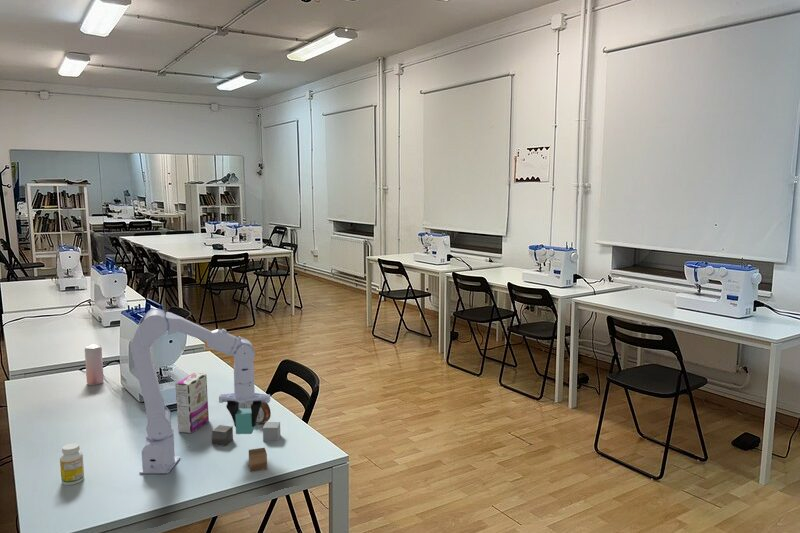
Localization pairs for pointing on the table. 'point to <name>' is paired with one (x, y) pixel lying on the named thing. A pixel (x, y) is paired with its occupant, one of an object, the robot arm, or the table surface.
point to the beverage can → (94, 364)
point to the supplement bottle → (71, 464)
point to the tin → (263, 412)
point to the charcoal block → (222, 435)
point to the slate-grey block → (271, 431)
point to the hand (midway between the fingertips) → (245, 425)
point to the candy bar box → (192, 402)
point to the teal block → (244, 421)
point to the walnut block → (257, 459)
